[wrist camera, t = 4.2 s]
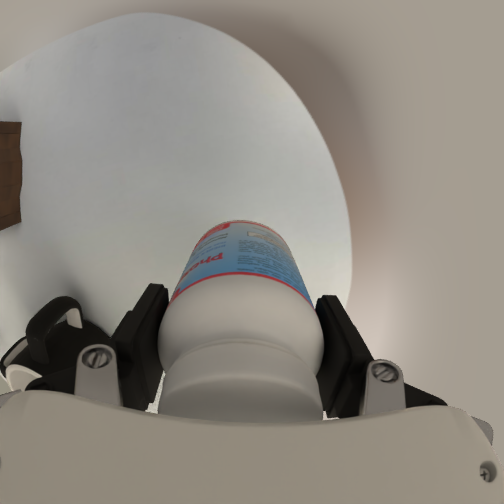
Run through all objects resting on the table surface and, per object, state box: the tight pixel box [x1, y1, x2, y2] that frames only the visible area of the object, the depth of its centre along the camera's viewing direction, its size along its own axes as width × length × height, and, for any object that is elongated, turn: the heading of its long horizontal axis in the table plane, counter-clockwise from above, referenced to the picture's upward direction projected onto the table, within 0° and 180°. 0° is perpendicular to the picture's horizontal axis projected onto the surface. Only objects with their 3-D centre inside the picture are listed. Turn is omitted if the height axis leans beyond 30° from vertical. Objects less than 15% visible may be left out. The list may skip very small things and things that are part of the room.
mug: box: [0, 296, 145, 411], centre depth 23 cm, size 16×16×12 cm
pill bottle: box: [158, 220, 324, 423], centre depth 11 cm, size 6×6×11 cm
